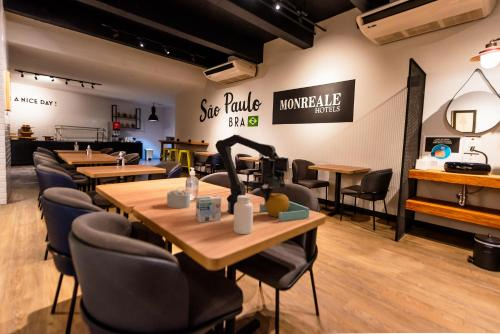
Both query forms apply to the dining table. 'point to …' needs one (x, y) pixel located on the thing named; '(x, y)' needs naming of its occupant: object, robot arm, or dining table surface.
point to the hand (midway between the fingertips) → (266, 201)
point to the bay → (295, 213)
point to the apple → (276, 204)
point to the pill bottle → (243, 215)
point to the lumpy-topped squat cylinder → (178, 199)
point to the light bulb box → (208, 208)
